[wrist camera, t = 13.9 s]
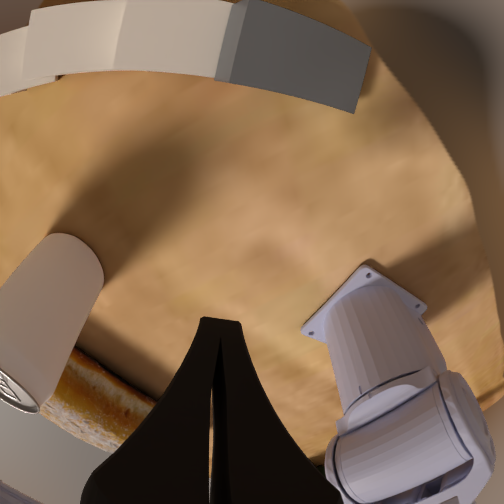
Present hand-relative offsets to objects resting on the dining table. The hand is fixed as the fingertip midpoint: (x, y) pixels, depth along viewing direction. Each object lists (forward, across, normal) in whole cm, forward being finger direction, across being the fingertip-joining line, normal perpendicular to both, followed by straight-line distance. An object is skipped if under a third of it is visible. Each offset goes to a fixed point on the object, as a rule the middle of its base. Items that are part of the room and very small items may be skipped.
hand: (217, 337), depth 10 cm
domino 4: (+9, -5, -10) cm, 14 cm away
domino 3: (+9, 0, -10) cm, 14 cm away
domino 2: (+9, +6, -10) cm, 15 cm away
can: (+10, +12, +6) cm, 17 cm away
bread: (+10, +11, +26) cm, 30 cm away
